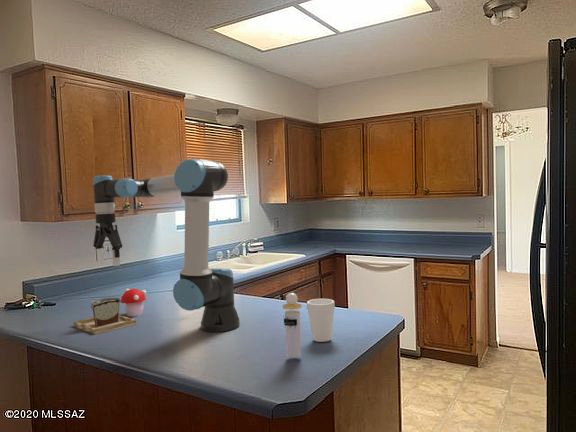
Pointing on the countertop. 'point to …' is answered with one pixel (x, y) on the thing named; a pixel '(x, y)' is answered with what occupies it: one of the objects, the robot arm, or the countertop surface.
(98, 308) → the brown white half-round block
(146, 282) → the countertop surface
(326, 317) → the foam cup
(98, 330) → the tray
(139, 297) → the mushroom
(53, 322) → the countertop surface
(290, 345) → the perfume bottle
